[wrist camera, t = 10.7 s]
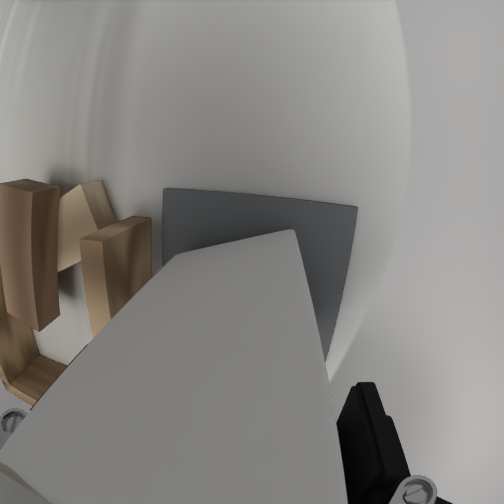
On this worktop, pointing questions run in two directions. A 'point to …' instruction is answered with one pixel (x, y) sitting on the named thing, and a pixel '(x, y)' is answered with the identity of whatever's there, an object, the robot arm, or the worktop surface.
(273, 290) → the milk carton
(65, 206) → the offcut lower
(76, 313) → the worktop surface
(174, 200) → the mat
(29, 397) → the rack
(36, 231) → the offcut upper
